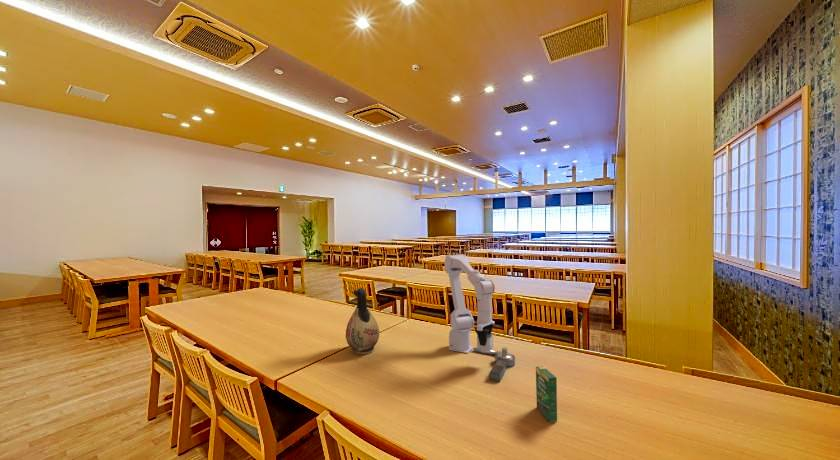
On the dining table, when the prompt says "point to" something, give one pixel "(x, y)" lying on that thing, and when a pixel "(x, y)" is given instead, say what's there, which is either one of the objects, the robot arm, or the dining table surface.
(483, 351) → the bar
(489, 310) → the robot arm
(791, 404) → the dining table surface
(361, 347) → the ceramic jug
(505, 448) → the dining table surface
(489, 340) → the socket
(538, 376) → the coffee box
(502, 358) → the ratchet
